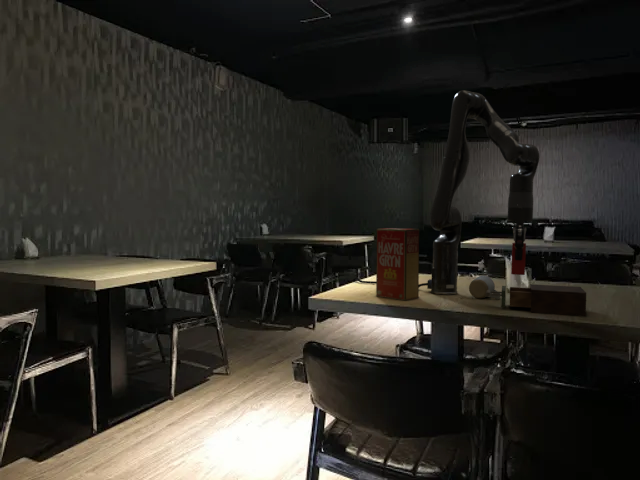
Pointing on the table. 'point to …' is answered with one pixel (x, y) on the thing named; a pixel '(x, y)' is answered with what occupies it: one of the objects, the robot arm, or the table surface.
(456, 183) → the robot arm
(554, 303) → the cabinet
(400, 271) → the food packaging
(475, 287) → the ceramic mug
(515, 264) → the block
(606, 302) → the table surface
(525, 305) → the drawer
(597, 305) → the table surface
